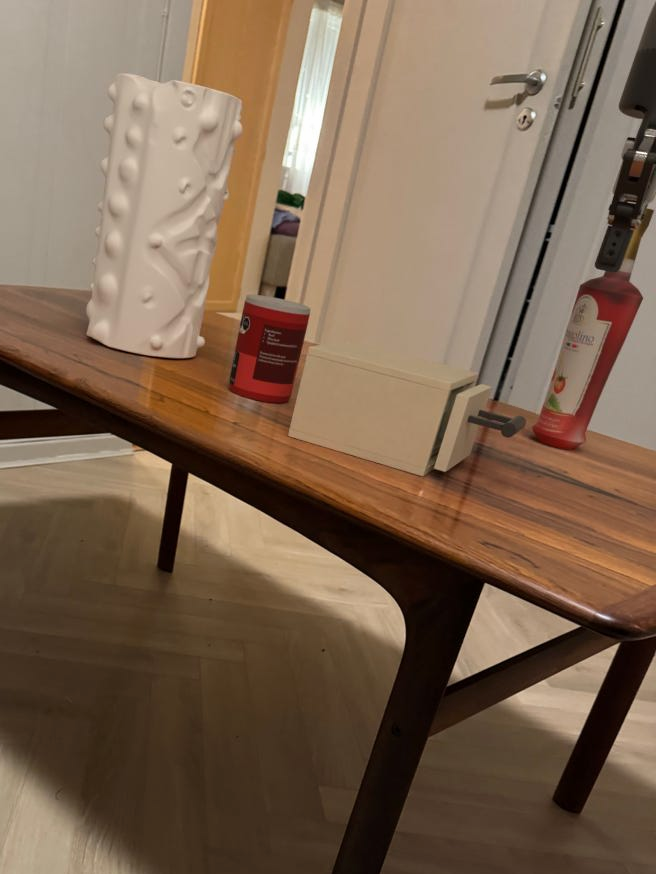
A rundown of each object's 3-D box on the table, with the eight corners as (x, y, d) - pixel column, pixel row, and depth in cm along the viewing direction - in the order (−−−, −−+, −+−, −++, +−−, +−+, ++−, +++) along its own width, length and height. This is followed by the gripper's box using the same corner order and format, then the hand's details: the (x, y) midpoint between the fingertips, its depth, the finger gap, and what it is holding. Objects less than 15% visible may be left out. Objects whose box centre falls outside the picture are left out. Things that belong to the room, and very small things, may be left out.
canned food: (247, 384, 116) (265, 294, 111) (301, 401, 112) (323, 309, 107) (215, 388, 110) (233, 293, 105) (271, 406, 106) (292, 308, 101)
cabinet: (452, 457, 99) (479, 373, 95) (422, 476, 88) (451, 383, 84) (328, 421, 104) (349, 340, 100) (287, 436, 94) (308, 346, 90)
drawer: (513, 467, 95) (538, 398, 92) (493, 486, 86) (519, 410, 83) (353, 421, 102) (370, 355, 99) (317, 434, 93) (335, 362, 90)
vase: (148, 362, 117) (193, 78, 103) (58, 333, 125) (88, 65, 111) (221, 359, 130) (270, 106, 116) (135, 333, 138) (171, 92, 124)
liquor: (514, 434, 118) (596, 199, 106) (553, 437, 121) (637, 210, 109) (556, 451, 112) (647, 205, 100) (596, 454, 116) (689, 216, 103)
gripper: (734, 41, 70) (644, 278, 78) (729, 75, 81) (651, 280, 88) (632, 31, 73) (555, 261, 80) (641, 65, 84) (572, 264, 91)
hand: (606, 270), depth 84 cm, fingers closed
